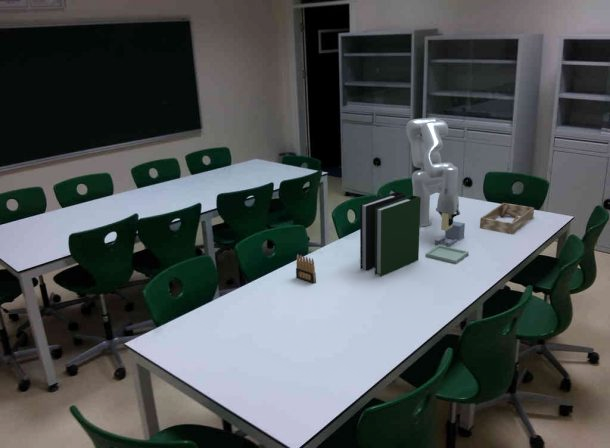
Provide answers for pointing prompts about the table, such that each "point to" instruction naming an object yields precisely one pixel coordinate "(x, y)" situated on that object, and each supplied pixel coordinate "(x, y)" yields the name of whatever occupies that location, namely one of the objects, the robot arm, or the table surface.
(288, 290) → the table surface
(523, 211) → the frame
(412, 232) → the pair of upright books
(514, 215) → the toilet paper hanger
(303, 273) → the ammunition clip
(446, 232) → the dispenser
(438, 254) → the tray
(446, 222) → the block
